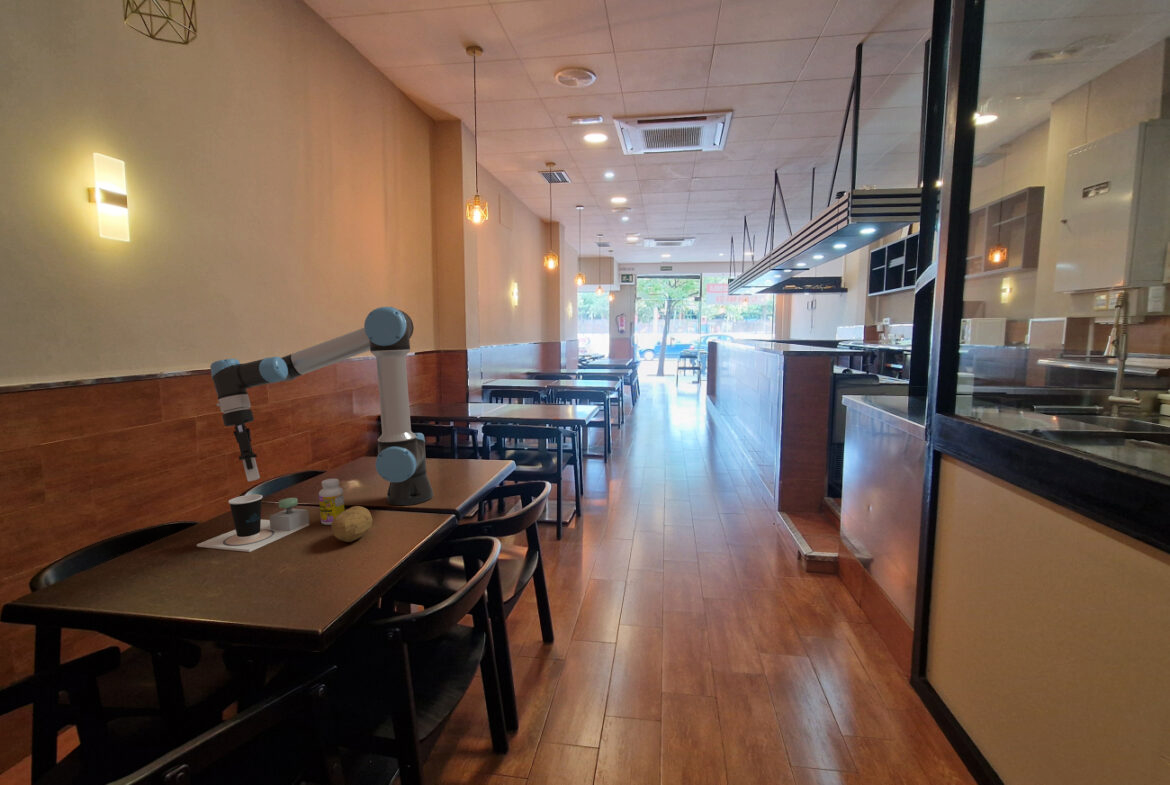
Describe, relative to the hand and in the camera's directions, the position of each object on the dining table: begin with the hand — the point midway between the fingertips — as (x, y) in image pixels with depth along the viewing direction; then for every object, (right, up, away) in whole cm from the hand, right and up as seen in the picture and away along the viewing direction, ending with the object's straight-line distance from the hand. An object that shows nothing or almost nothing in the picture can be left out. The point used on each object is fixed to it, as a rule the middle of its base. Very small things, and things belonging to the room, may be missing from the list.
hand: (254, 479), depth 152 cm
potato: (+35, -14, -12) cm, 40 cm away
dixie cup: (+6, -14, -11) cm, 19 cm away
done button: (+12, -12, -2) cm, 17 cm away
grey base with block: (+5, -14, -7) cm, 17 cm away
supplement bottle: (+23, -13, +2) cm, 26 cm away
